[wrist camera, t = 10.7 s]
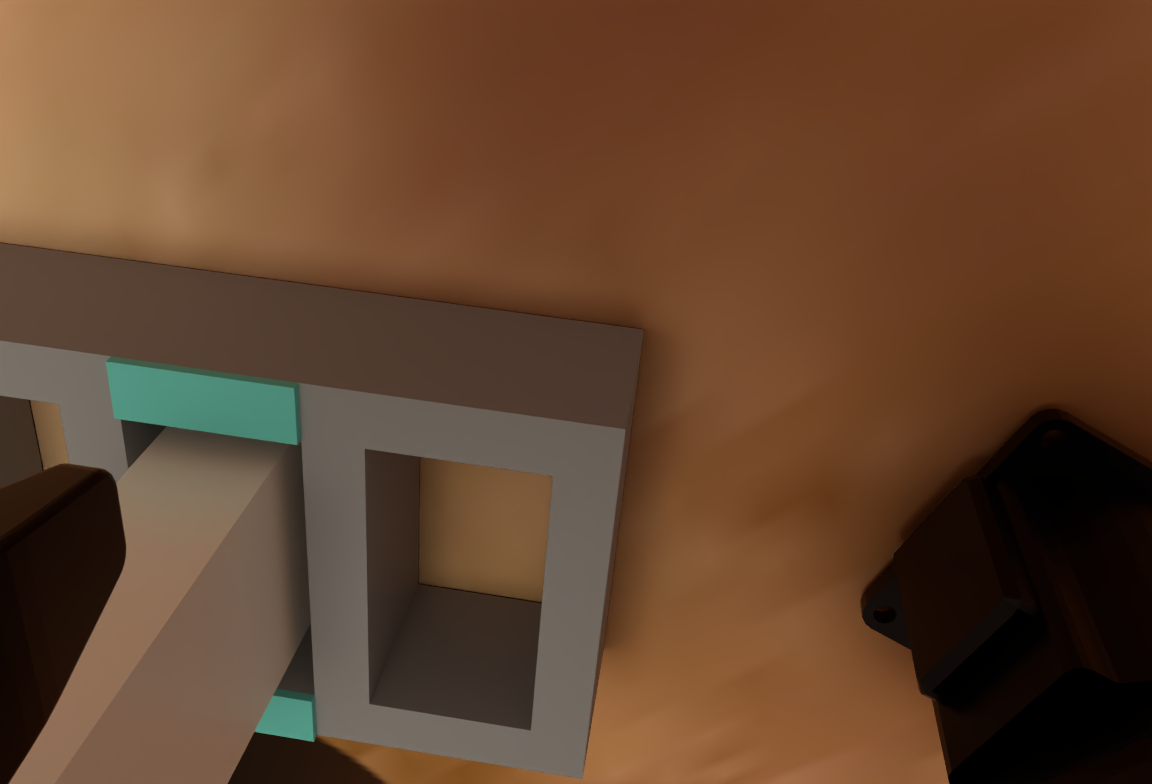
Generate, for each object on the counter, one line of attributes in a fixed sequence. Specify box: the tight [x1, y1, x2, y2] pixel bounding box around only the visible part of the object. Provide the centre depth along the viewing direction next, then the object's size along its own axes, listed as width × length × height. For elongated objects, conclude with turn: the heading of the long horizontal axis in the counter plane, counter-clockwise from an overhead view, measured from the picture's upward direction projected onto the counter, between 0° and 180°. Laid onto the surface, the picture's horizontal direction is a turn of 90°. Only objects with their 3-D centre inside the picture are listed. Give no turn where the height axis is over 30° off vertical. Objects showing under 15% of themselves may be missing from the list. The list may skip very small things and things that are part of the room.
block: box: [9, 426, 311, 784], centre depth 20 cm, size 2×5×12 cm, turn 176°
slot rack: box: [0, 243, 644, 779], centre depth 23 cm, size 15×9×4 cm, turn 85°
